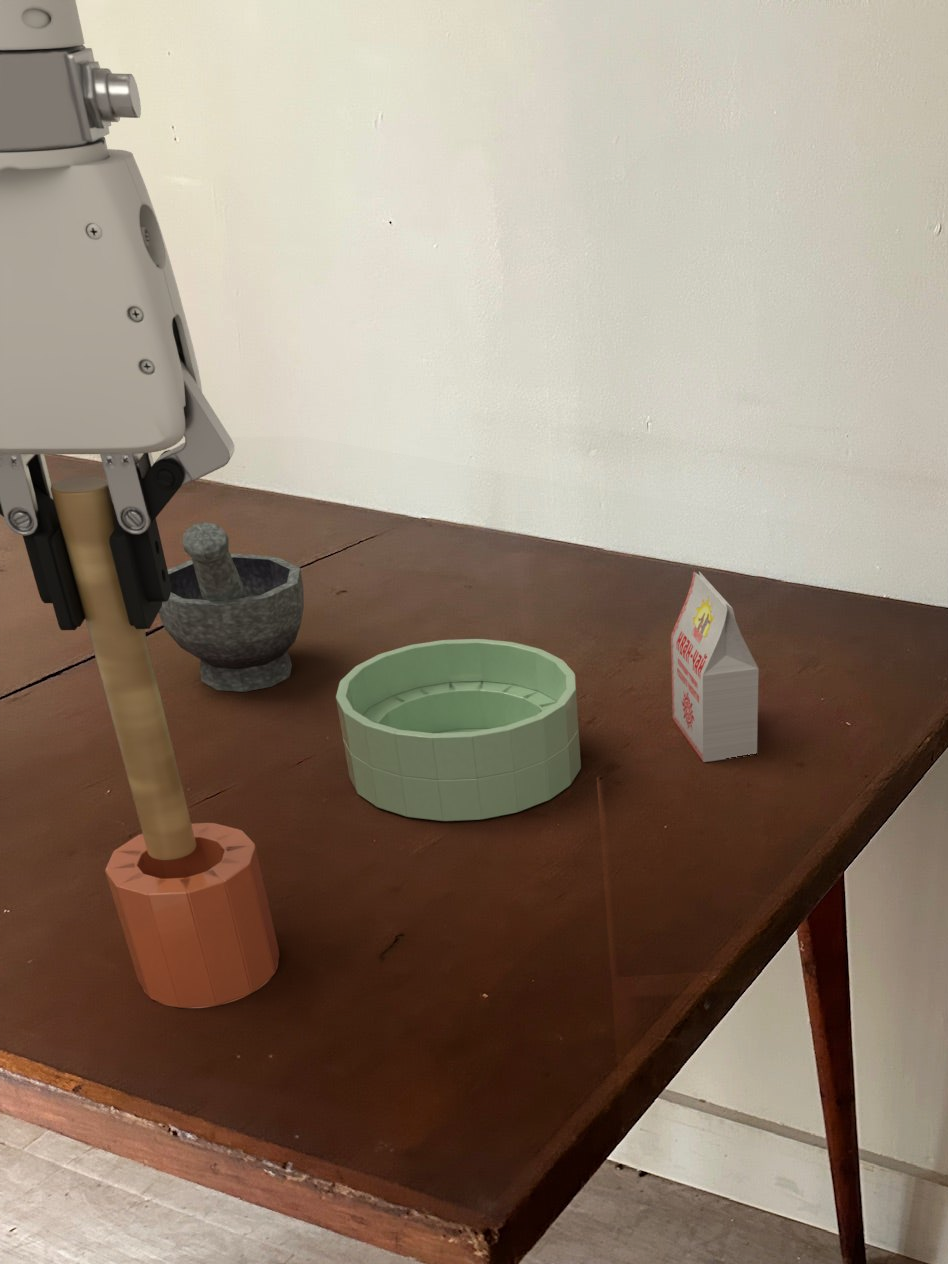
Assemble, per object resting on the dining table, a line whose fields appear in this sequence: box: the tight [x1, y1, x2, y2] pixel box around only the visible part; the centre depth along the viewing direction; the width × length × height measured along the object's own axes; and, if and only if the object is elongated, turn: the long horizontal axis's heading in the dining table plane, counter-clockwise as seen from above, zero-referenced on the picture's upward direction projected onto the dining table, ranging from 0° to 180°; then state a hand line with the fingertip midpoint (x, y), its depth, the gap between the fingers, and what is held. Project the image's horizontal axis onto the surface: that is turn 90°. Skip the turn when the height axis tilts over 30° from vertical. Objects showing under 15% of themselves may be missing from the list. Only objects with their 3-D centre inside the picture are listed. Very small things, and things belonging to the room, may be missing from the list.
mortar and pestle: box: [158, 521, 305, 693], centre depth 97 cm, size 11×9×12 cm
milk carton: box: [670, 570, 760, 763], centre depth 92 cm, size 4×7×10 cm, turn 20°
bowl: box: [335, 638, 582, 822], centre depth 88 cm, size 14×14×6 cm
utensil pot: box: [104, 822, 281, 1009], centre depth 70 cm, size 7×7×7 cm
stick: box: [51, 476, 196, 860], centre depth 63 cm, size 2×2×17 cm
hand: (112, 614), depth 61 cm, fingers closed on stick, 2 cm apart
